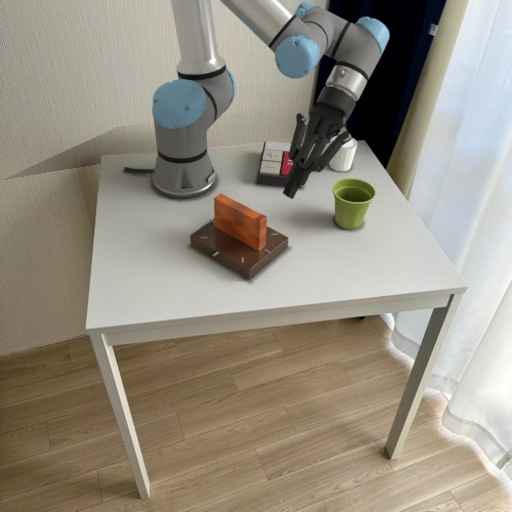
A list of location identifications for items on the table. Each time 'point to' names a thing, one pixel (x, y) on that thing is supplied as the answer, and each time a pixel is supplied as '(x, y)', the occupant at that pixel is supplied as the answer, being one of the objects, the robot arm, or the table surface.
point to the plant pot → (352, 201)
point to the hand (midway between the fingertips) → (287, 196)
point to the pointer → (240, 221)
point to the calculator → (275, 164)
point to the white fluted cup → (343, 156)
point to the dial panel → (238, 249)
